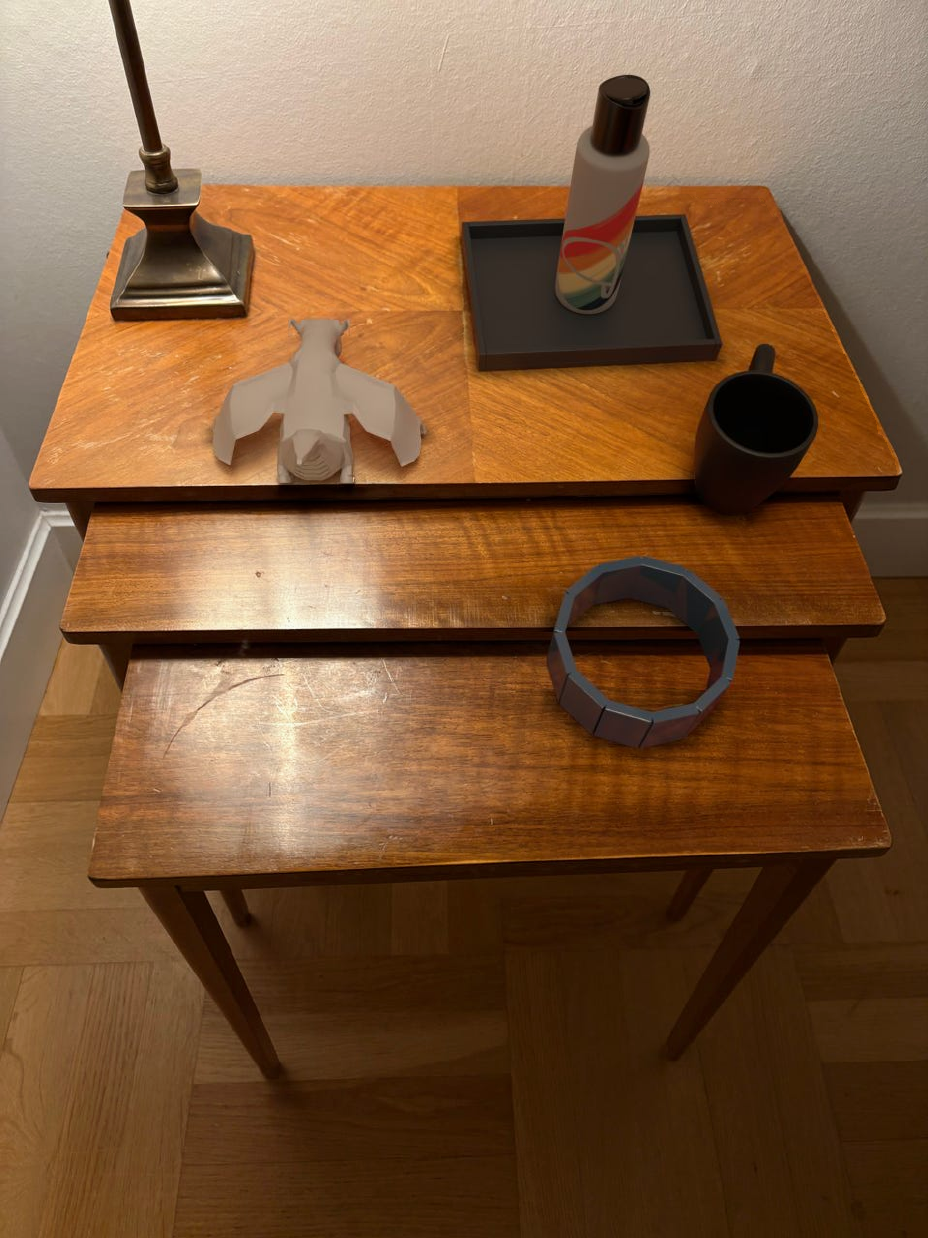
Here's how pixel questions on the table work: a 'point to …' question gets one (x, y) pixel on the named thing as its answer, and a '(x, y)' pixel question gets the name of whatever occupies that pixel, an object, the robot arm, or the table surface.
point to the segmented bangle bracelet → (658, 588)
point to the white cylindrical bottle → (604, 197)
